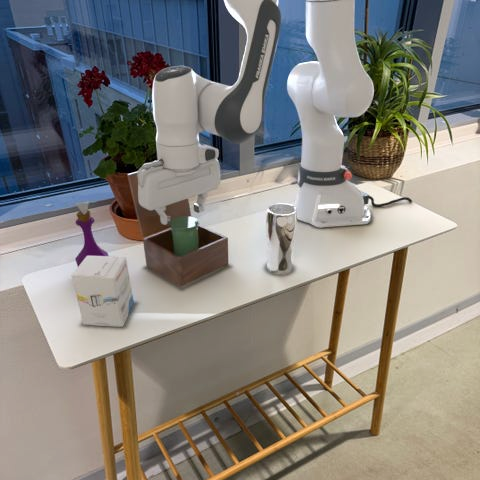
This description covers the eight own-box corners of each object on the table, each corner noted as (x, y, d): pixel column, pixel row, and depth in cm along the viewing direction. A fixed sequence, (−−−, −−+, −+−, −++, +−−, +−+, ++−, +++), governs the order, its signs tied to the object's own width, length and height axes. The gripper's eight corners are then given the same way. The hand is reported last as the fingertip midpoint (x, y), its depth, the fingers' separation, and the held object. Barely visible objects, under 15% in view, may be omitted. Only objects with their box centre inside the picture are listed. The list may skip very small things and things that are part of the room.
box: (228, 266, 117) (227, 237, 112) (181, 289, 109) (179, 258, 104) (192, 248, 124) (190, 220, 120) (146, 267, 116) (142, 238, 112)
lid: (181, 159, 113) (179, 159, 113) (129, 174, 105) (127, 174, 105) (191, 218, 119) (189, 218, 120) (143, 237, 111) (141, 236, 112)
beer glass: (292, 277, 113) (296, 216, 104) (262, 274, 114) (264, 214, 105) (295, 262, 118) (299, 204, 109) (267, 260, 119) (269, 202, 110)
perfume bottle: (77, 270, 115) (61, 198, 105) (109, 264, 118) (96, 192, 107) (82, 285, 110) (65, 210, 99) (115, 278, 112) (102, 205, 102)
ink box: (96, 301, 104) (86, 253, 98) (134, 303, 104) (127, 255, 97) (81, 325, 98) (69, 275, 91) (122, 328, 97) (113, 277, 90)
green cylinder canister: (202, 258, 119) (200, 216, 112) (199, 271, 113) (197, 228, 107) (175, 257, 119) (171, 216, 112) (171, 271, 114) (167, 228, 107)
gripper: (146, 169, 93) (153, 235, 101) (224, 148, 105) (225, 209, 113) (127, 162, 97) (135, 226, 105) (205, 142, 108) (207, 201, 116)
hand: (182, 217), depth 109 cm, fingers open, 8 cm apart
